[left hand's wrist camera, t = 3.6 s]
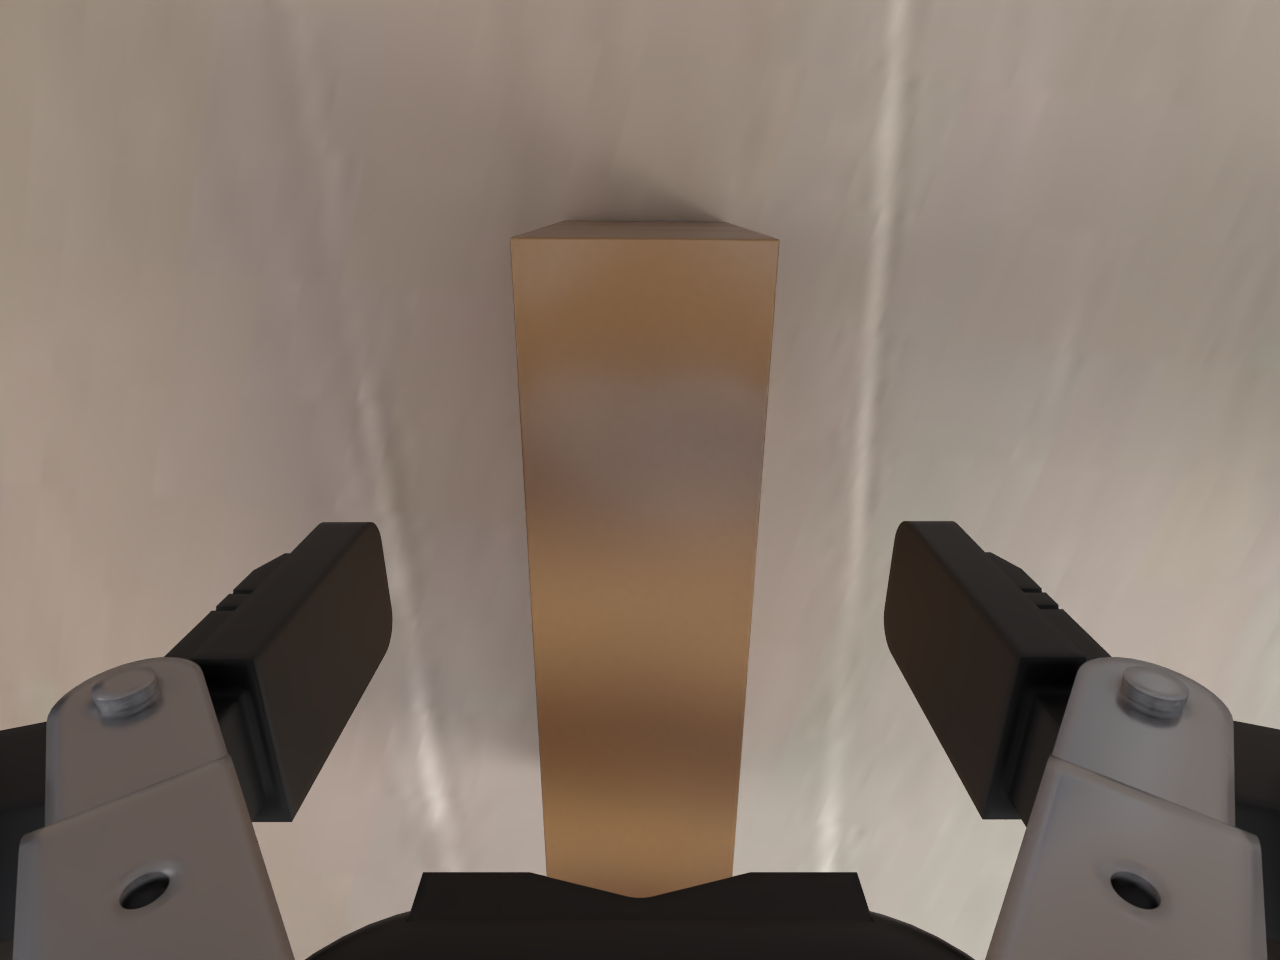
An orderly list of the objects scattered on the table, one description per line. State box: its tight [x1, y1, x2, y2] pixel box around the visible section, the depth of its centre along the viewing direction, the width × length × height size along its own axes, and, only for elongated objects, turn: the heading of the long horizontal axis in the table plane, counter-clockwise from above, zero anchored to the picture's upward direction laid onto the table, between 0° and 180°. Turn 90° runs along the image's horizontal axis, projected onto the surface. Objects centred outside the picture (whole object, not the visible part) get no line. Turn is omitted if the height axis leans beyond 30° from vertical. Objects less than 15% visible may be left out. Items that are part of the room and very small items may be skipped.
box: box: [510, 221, 779, 898], centre depth 27 cm, size 27×6×12 cm, turn 0°
